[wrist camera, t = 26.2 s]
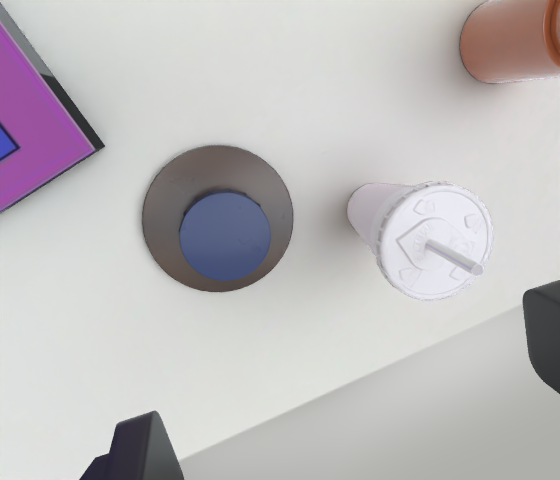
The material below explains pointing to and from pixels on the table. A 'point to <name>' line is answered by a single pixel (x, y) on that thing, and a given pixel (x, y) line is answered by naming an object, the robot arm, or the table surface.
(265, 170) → the coaster
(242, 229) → the jar lid
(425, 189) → the smoothie
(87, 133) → the book
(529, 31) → the jar
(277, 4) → the table surface
